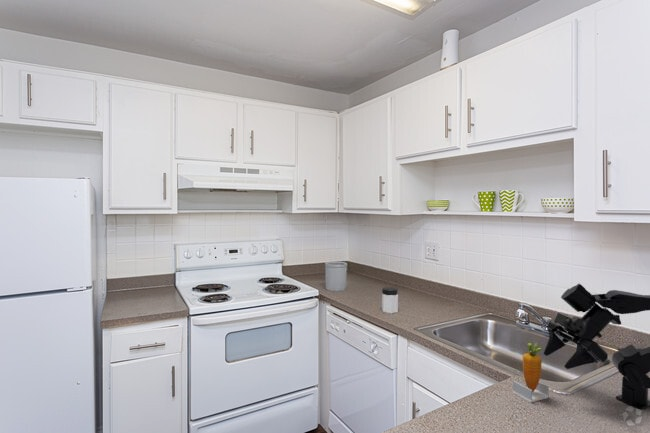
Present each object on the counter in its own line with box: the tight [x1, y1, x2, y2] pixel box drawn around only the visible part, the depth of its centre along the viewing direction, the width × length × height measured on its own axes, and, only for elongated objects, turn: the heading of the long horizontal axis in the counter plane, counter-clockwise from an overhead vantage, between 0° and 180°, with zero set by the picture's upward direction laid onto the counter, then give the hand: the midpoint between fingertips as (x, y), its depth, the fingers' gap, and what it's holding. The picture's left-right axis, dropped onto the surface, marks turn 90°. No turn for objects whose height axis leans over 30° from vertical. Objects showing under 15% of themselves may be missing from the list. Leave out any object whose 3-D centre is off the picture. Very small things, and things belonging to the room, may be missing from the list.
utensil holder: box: [324, 261, 348, 292], centre depth 246 cm, size 15×15×18 cm
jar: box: [381, 286, 399, 314], centre depth 195 cm, size 9×8×12 cm
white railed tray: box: [512, 380, 550, 403], centre depth 108 cm, size 7×6×4 cm
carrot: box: [522, 342, 542, 392], centre depth 108 cm, size 5×5×15 cm
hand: (554, 361), depth 108 cm, fingers open, 9 cm apart
